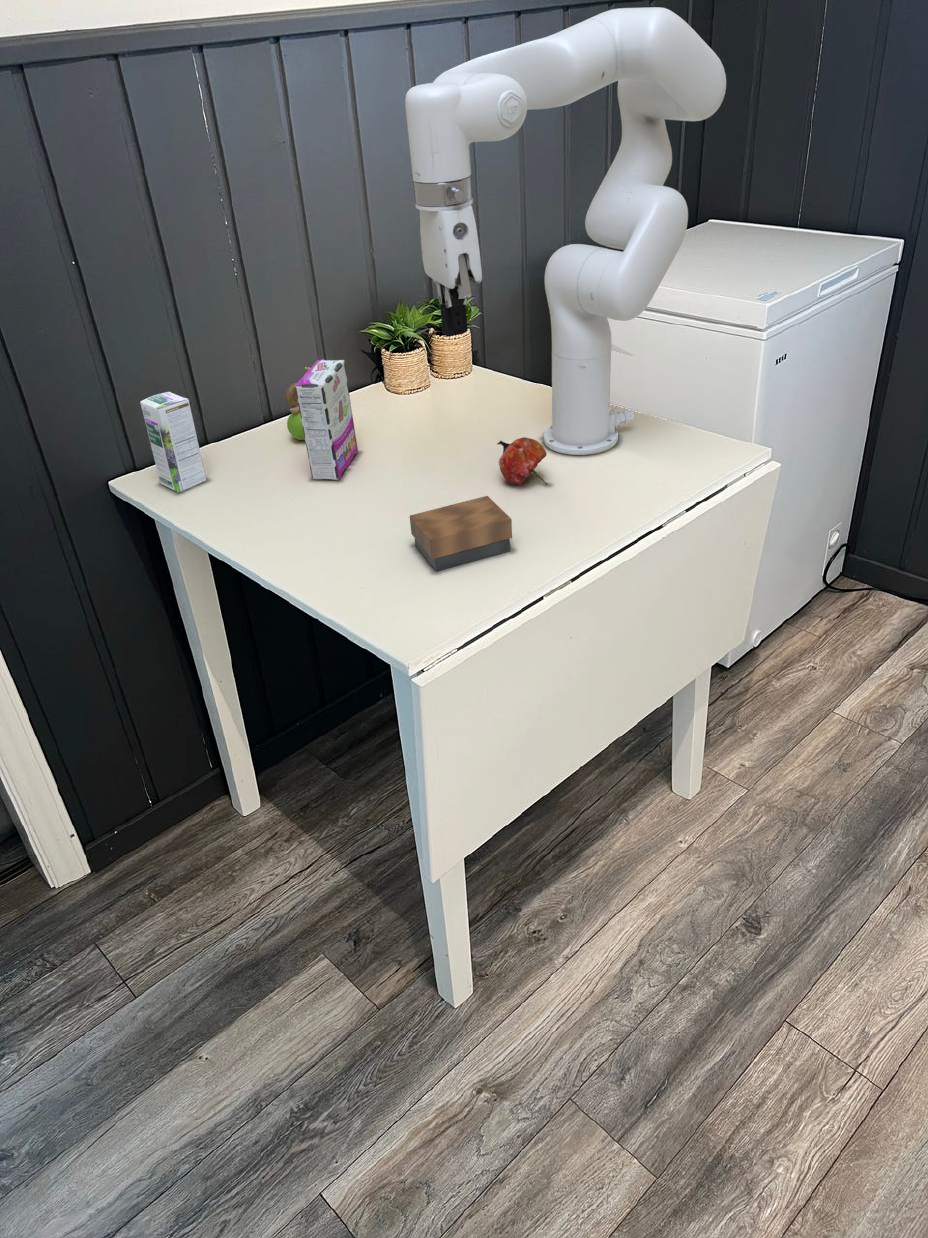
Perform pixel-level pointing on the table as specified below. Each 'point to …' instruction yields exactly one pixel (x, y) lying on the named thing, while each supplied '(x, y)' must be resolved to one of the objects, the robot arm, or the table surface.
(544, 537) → the table surface
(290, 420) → the snail figurine
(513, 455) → the pomegranate
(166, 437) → the syrup box
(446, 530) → the brush
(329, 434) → the candy bar box
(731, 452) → the table surface
